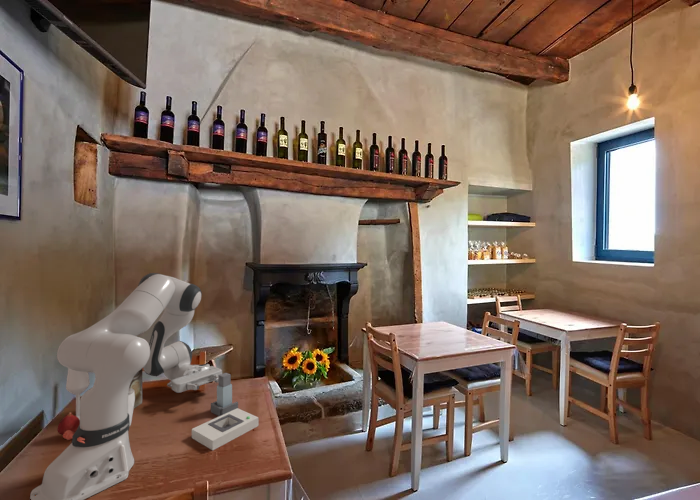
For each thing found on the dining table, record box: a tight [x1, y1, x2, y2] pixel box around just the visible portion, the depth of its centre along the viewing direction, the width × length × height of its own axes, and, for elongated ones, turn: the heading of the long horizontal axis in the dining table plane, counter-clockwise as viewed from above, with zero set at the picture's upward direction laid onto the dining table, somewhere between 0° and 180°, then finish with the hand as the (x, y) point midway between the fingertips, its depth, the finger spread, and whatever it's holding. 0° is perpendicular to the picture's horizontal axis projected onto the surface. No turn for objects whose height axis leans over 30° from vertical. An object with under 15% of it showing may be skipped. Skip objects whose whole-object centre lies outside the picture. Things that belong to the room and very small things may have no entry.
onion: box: [57, 412, 80, 436], centre depth 113 cm, size 6×6×8 cm
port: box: [191, 407, 260, 451], centre depth 116 cm, size 18×12×3 cm, turn 145°
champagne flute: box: [65, 368, 90, 420], centre depth 123 cm, size 7×7×24 cm
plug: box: [216, 372, 233, 408], centre depth 131 cm, size 4×4×14 cm
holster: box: [210, 400, 239, 417], centre depth 131 cm, size 7×8×3 cm
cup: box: [128, 388, 135, 426], centre depth 119 cm, size 9×9×12 cm
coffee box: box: [129, 368, 143, 410], centre depth 133 cm, size 9×6×16 cm
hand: (208, 383), depth 138 cm, fingers open, 8 cm apart
